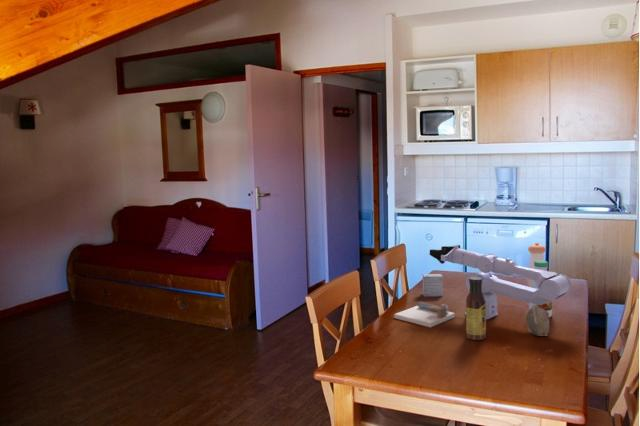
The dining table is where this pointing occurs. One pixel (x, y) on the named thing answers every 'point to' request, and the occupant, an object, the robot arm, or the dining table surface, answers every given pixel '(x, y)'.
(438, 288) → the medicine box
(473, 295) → the sauce bottle
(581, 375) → the dining table surface
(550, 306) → the milk bottle
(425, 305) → the steel link
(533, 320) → the grey rock
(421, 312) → the board
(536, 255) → the orange-capped bottle
